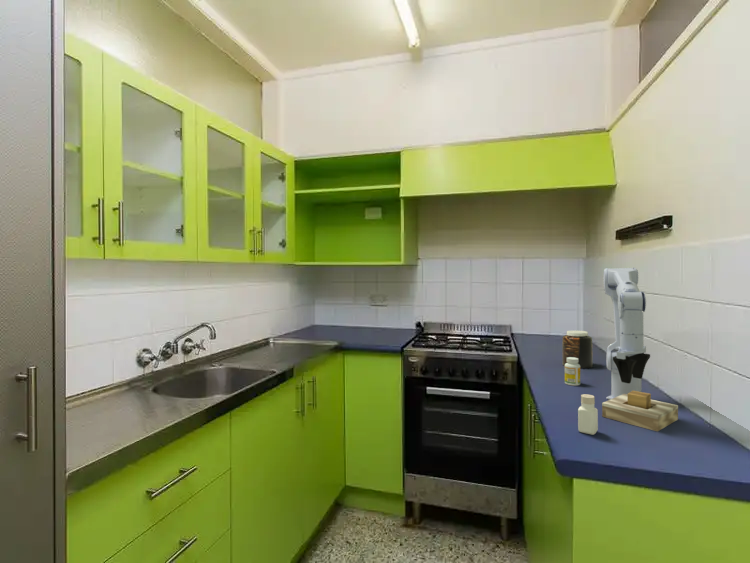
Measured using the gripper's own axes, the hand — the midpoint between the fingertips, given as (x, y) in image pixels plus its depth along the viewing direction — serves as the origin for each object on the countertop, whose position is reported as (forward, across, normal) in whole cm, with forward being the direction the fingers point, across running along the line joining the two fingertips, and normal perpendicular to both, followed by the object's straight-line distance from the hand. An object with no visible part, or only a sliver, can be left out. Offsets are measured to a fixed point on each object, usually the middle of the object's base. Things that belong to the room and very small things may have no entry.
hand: (631, 380), depth 118 cm
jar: (+11, -48, -41) cm, 64 cm away
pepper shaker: (+10, +21, -2) cm, 24 cm away
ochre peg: (+10, 0, +2) cm, 11 cm away
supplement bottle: (+11, -19, -28) cm, 35 cm away
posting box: (+10, 0, +2) cm, 11 cm away
